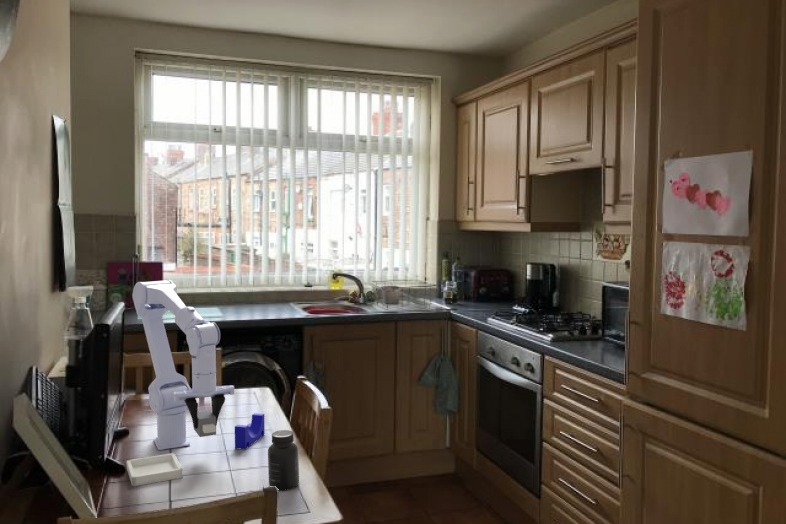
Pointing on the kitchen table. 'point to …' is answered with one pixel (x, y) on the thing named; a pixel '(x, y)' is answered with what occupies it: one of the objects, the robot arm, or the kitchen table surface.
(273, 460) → the supplement bottle
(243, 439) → the blue u-shaped cradle block
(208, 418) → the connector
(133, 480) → the tray
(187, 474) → the kitchen table surface
